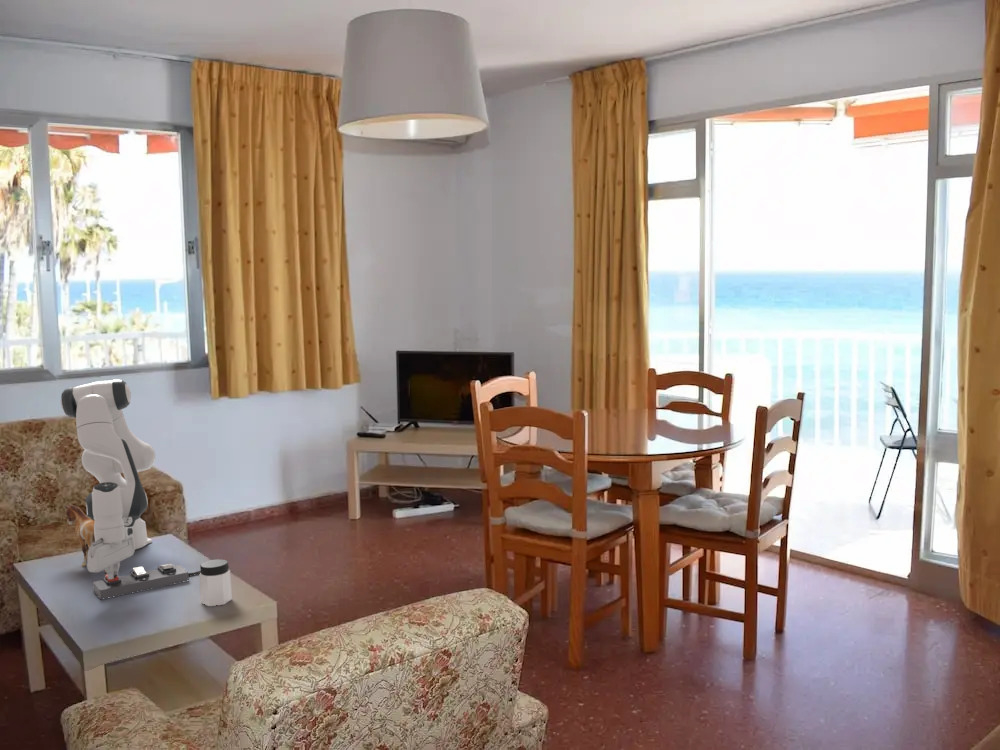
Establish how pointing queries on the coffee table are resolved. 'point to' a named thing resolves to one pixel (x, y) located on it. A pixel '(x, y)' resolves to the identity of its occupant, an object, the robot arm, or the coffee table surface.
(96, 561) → the robot arm
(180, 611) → the coffee table surface
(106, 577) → the red rocker
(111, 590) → the grey switch panel
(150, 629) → the coffee table surface
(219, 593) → the jar
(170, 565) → the grey rocker end
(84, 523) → the horse figurine
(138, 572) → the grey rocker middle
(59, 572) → the coffee table surface
